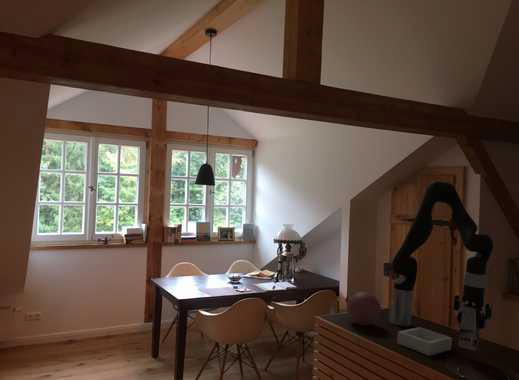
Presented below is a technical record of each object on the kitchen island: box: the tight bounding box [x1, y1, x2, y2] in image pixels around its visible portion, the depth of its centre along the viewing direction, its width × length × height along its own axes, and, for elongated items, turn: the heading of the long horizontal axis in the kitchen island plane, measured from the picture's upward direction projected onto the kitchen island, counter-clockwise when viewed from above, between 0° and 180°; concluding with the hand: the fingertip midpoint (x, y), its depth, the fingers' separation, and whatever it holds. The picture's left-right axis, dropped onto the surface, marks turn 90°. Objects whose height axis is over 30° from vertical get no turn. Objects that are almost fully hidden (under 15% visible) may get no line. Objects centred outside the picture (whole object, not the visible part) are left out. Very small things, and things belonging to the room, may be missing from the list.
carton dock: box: [396, 326, 453, 357], centre depth 186 cm, size 15×16×5 cm
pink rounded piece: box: [344, 291, 382, 326], centre depth 212 cm, size 15×20×15 cm
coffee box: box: [458, 304, 481, 351], centre depth 175 cm, size 9×6×16 cm
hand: (470, 325), depth 175 cm, fingers closed on coffee box, 8 cm apart
